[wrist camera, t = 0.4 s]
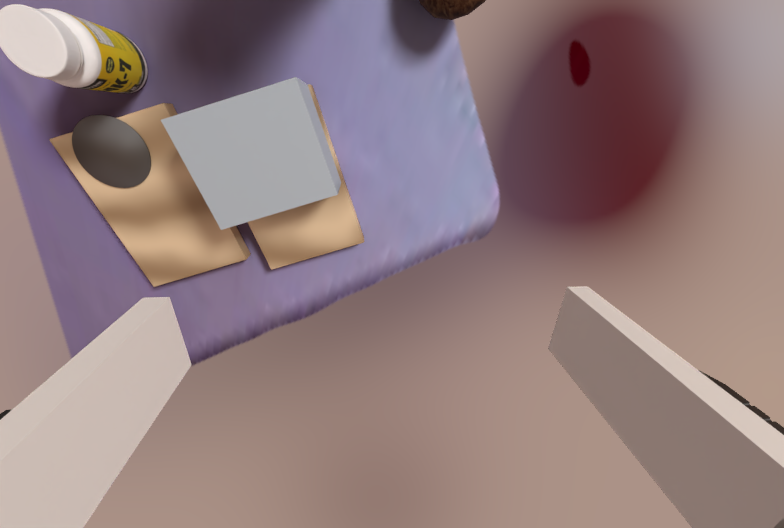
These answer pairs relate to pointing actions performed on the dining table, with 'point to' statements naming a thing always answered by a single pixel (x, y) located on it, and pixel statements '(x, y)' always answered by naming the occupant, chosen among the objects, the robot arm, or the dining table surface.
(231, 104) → the cover
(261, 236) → the pattern board
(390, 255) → the dining table surface
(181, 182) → the board
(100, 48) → the supplement bottle
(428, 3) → the mushroom
